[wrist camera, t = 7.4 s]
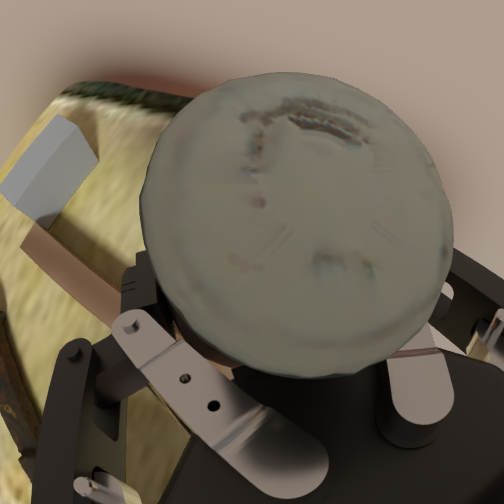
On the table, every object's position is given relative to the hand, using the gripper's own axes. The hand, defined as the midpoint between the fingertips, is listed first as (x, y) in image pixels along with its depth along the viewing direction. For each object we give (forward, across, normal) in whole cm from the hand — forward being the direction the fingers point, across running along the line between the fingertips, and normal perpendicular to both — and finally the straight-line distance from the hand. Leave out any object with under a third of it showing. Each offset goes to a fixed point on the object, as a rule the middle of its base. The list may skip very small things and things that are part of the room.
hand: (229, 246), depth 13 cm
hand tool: (+5, +20, +13) cm, 25 cm away
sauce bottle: (+6, 0, +9) cm, 11 cm away
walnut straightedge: (+8, +7, +9) cm, 14 cm away
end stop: (+18, +12, -1) cm, 21 cm away
